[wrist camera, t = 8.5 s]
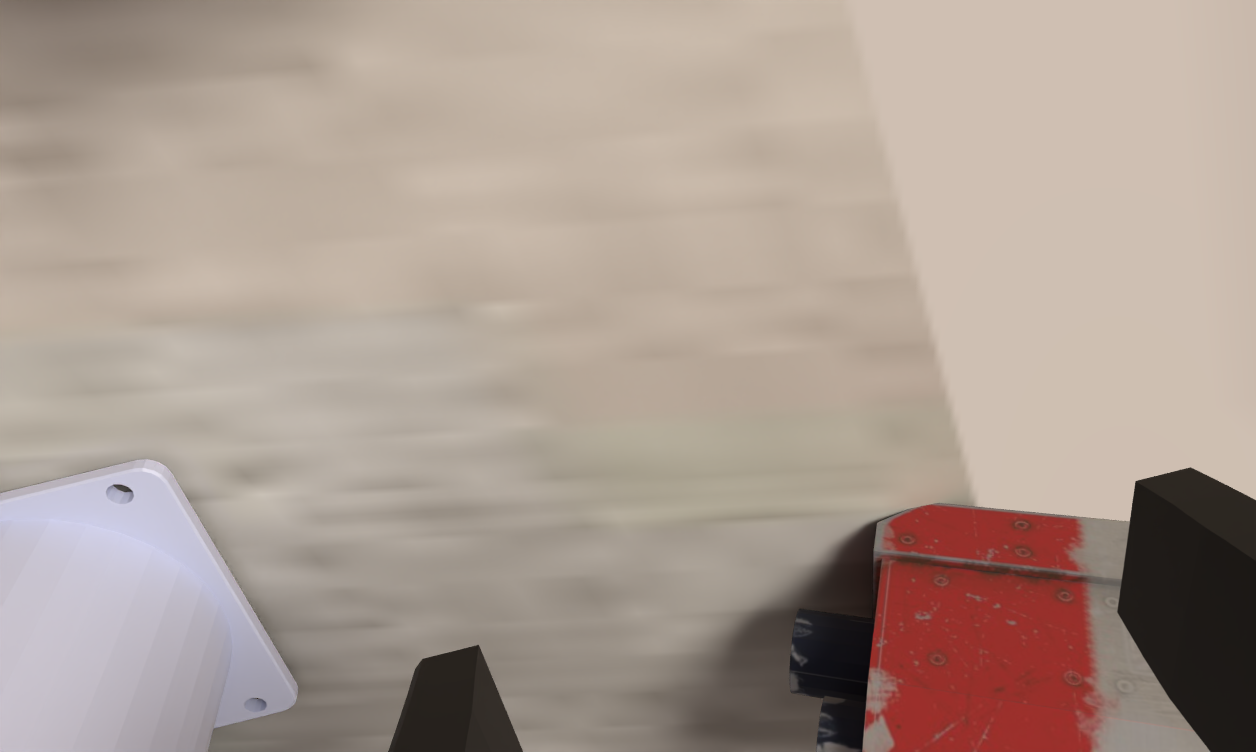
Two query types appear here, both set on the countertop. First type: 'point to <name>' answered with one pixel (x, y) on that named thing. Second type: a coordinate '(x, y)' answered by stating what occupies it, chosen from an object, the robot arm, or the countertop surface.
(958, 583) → the toy gun
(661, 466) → the countertop surface
